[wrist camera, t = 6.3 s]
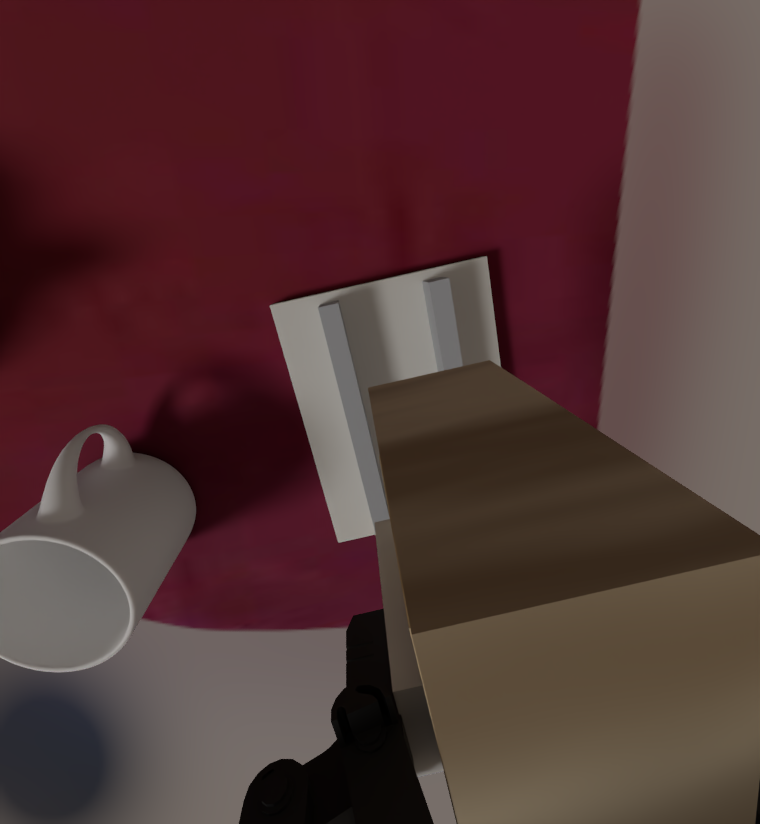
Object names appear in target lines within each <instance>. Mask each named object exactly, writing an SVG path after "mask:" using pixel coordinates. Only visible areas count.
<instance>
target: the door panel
mask: <svg viewBox="0 0 760 824" xmlns="http://www.w3.org/2000/svg"><path fill="white" fill-rule="evenodd" d="M368 392H369V397H370V403H371V409H372V414H373V420H374V426H375V431H376V437H377V442H378V448H379V454H380V455H379V459H380V465H381V470H382V476H383V482H384V488H385V493H386V499H387V505H388V511H389V516H390V522H391V528H392V534H393V540H394V545H395V551H396V557H397V563H398V568H399V574H400V580H401V586H402V592H403V597H404V603H405V609H406V615H407V620H408V626H409V631H410V635H411V639H412V643H413V647H414V651H415V655H416V659H417V664H418V668H419V672H420V676H421V680H422V684H423V688H424V692H425V696H426V700H427V704H428V708H429V712H430V716H431V721H432V725H433V729H434V733H435V737H436V741H437V745H438V749H439V753H440V757H441V761H442V765H443V769H444V773H445V778H446V781H447V786H448V790H449V794H450V798H451V802H452V806H453V810H454V814H455V818H456V822H457V824H755V821H756V811H757V801H758V791H759V781H760V535H758V534H757V533H755V532H754V531H752V530H751V529H749V528H748V527H746V526H745V525H743V524H741V523H740V522H739V521H737V520H735V519H734V518H732V517H731V516H729V515H728V514H726V513H725V512H723V511H721V510H720V509H719V508H717V507H715V506H714V505H712V504H711V503H709V502H708V501H706V500H705V499H703V498H702V497H700V496H698V495H697V494H695V493H694V492H692V491H691V490H689V489H688V488H686V487H685V486H683V485H682V484H680V483H678V482H677V481H675V480H674V479H672V478H671V477H669V476H667V475H666V474H665V473H663V472H661V471H660V470H658V469H657V468H655V467H654V466H652V465H650V464H649V463H648V462H646V461H645V460H643V459H641V458H640V457H638V456H637V455H635V454H634V453H632V452H631V451H629V450H628V449H626V448H624V447H623V446H621V445H620V444H618V443H617V442H615V441H614V440H612V439H611V438H609V437H608V436H606V435H604V434H603V433H601V432H600V431H598V430H597V429H595V428H594V427H592V426H591V425H589V424H588V423H586V422H584V421H583V420H581V419H580V418H578V417H577V416H575V415H574V414H572V413H571V412H569V411H567V410H566V409H564V408H563V407H561V406H560V405H558V404H557V403H555V402H554V401H552V400H551V399H549V398H547V397H546V396H544V395H543V394H541V393H540V392H538V391H537V390H535V389H534V388H532V387H530V386H529V385H527V384H526V383H524V382H523V381H521V380H520V379H518V378H517V377H515V376H514V375H512V374H510V373H509V372H507V371H506V370H504V369H503V368H501V367H500V366H498V365H497V364H495V363H494V362H492V361H490V360H488V361H483V362H479V363H474V364H470V365H466V366H461V367H457V368H452V369H448V370H444V371H439V372H435V373H430V374H426V375H422V376H417V377H413V378H408V379H404V380H400V381H395V382H391V383H386V384H382V385H378V386H373V387H369V388H368Z"/></svg>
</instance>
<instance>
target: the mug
mask: <svg viewBox="0 0 760 824" xmlns="http://www.w3.org/2000/svg"><path fill="white" fill-rule="evenodd" d="M93 433H99V434H101V435H102V437H103V440H104V452H103V458H101V459H99V460H97V461H95V462H93V463H91V464H90V465H88V466H86V467H85V468H84V469H82V470H81V471H80V472H78V473H77V466H78V459H79V455H80V451H81V448H82V446H83V444H84V442H85V440H86V439H87V438H88V437H89V436H90V435H91V434H93ZM195 517H196V502H195V498H194V495H193V492H192V490H191V488H190V486H189V484H188V482H187V481H186V480H185V478H184V477H183V476H182V475H181V474H180V473H179V472H178V471H177V470H176V469H175V468H173V467H172V466H171V465H169V464H168V463H166V462H164V461H162V460H160V459H158V458H155V457H152V456H149V455H145V454H140V453H133V452H132V449H131V447H130V445H129V443H128V441H127V439H126V438H125V437H124V435H123V434H122V433H121V432H119V431H118V430H117V429H116V428H114V427H112V426H109V425H102V424H101V425H95V426H92V427H89V428H87V429H85V430H83V431H82V432H80V433H79V434H77V435H76V436H75V437H74V438H73V439H72V440H71V441H70V442H69V443H68V444H67V445H66V446H65V448H64V449H63V450H62V452H61V453H60V455H59V456H58V458H57V459H56V461H55V464H54V466H53V468H52V470H51V472H50V475H49V478H48V480H47V483H46V486H45V490H44V493H43V497H42V500H41V502H39V503H38V504H37V505H36V506H34V507H33V508H32V509H30V510H29V511H28V512H26V513H25V514H24V515H23V516H21V517H20V518H19V519H17V520H16V521H15V522H13V523H12V524H11V525H10V526H8V527H7V528H6V529H4V530H3V531H2V532H1V533H0V658H2V659H4V660H6V661H9V662H11V663H13V664H16V665H19V666H22V667H25V668H29V669H33V670H38V671H46V672H71V671H77V670H83V669H87V668H90V667H93V666H95V665H98V664H100V663H102V662H104V661H106V660H107V659H109V658H111V657H112V656H114V655H115V654H116V653H117V652H119V650H120V649H122V648H123V647H124V645H125V644H126V643H127V641H128V640H129V638H130V636H131V635H132V633H133V631H134V630H135V628H136V626H137V625H138V623H139V621H140V619H141V618H142V616H143V614H144V613H145V611H146V609H147V607H148V606H149V604H150V602H151V601H152V599H153V597H154V595H155V594H156V592H157V590H158V588H159V587H160V585H161V583H162V582H163V580H164V578H165V576H166V575H167V573H168V571H169V570H170V568H171V566H172V564H173V563H174V561H175V559H176V558H177V556H178V554H179V552H180V551H181V549H182V547H183V546H184V544H185V542H186V540H187V538H188V537H189V535H190V533H191V531H192V528H193V525H194V522H195Z"/></svg>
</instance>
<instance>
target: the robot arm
mask: <svg viewBox="0 0 760 824" xmlns="http://www.w3.org/2000/svg"><path fill="white" fill-rule="evenodd" d="M374 524H375V533H376V543H377V552H378V561H379V570H380V579H381V589H382V598H383V607H384V609H380V610H376V611H372V612H367V613H363V614H359V615H354V616H353V618H352V620H351V622H350V624H349V626H348V629H347V631H346V648H347V651H346V660H347V664H346V688H345V689H343V691H342V692H341V693H340V694H339V695H338V697H337V698H336V700H335V702H334V704H333V707H332V709H331V723H332V725H333V728H334V731H335V734H336V737H337V740H336V741H335V742H334V743H333V745H332V746H331V747H330V748H329V749H327V750H326V751H325V752H323V753H322V754H320V755H319V756H317V757H316V758H314V759H312V760H311V761H309V762H307V763H306V764H304V765H301V764H300V763H298V762H296V761H295V760H293V759H281V760H278V761H276V762H273V763H270V764H269V765H268V766H266V767H265V768H264V769H263V770H261V771H260V772H259V773H258V774H257V776H256V777H255V779H254V780H253V781H252V783H251V784H250V786H249V788H248V791H247V793H246V796H245V799H244V803H243V807H242V812H241V817H240V821H239V824H434V823H433V820H432V817H431V815H430V812H429V809H428V806H427V803H426V800H425V797H424V795H423V792H422V789H421V786H420V783H419V780H418V777H422V776H426V775H430V774H434V773H439V772H443V771H444V769H443V765H442V761H441V757H440V753H439V749H438V745H437V741H436V737H435V733H434V729H433V725H432V721H431V716H430V712H429V708H428V704H427V700H426V696H425V692H424V688H423V684H422V680H421V676H420V672H419V668H418V664H417V659H416V655H415V651H414V647H413V643H412V639H411V635H410V631H409V626H408V620H407V615H406V609H405V603H404V597H403V592H402V586H401V580H400V574H399V568H398V563H397V557H396V551H395V545H394V540H393V534H392V528H391V522H390V519H387V520H383V521H379V522H374ZM755 824H760V781H759V791H758V801H757V811H756V821H755Z"/></svg>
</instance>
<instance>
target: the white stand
mask: <svg viewBox="0 0 760 824" xmlns="http://www.w3.org/2000/svg"><path fill="white" fill-rule="evenodd" d="M270 308H271V312H272V315H273V318H274V322H275V325H276V329H277V332H278V336H279V339H280V343H281V346H282V350H283V353H284V357H285V360H286V363H287V367H288V370H289V374H290V377H291V381H292V384H293V388H294V391H295V395H296V398H297V401H298V405H299V408H300V412H301V415H302V419H303V422H304V426H305V429H306V433H307V436H308V440H309V443H310V446H311V450H312V453H313V457H314V460H315V464H316V467H317V471H318V474H319V478H320V481H321V484H322V488H323V491H324V495H325V498H326V502H327V505H328V509H329V512H330V516H331V519H332V522H333V526H334V529H335V533H336V536H337V540H338V543H340V542H344V541H349V540H353V539H357V538H362V537H366V536H370V535H375V534H376V533H375V524H374V522H379V521H383V520H387V519H390V516H389V511H388V505H387V499H386V493H385V488H384V482H383V476H382V470H381V465H380V459H379V455H380V454H379V448H378V442H377V437H376V431H375V426H374V420H373V414H372V409H371V403H370V397H369V392H368V388H369V387H373V386H378V385H382V384H386V383H391V382H395V381H400V380H404V379H408V378H413V377H417V376H422V375H426V374H430V373H435V372H439V371H444V370H448V369H452V368H457V367H461V366H466V365H470V364H474V363H479V362H483V361H488V360H490V361H492V362H494V363H495V364H497V365H498V366H500V367H501V364H500V356H499V348H498V340H497V332H496V324H495V316H494V308H493V301H492V293H491V285H490V277H489V269H488V261H487V256H483V257H478V258H473V259H469V260H464V261H460V262H456V263H451V264H447V265H442V266H438V267H433V268H429V269H425V270H420V271H416V272H411V273H407V274H403V275H398V276H394V277H389V278H385V279H381V280H376V281H372V282H367V283H363V284H358V285H354V286H350V287H345V288H341V289H336V290H332V291H328V292H323V293H319V294H314V295H310V296H306V297H301V298H297V299H292V300H288V301H283V302H279V303H275V304H272V305H270Z"/></svg>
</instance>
